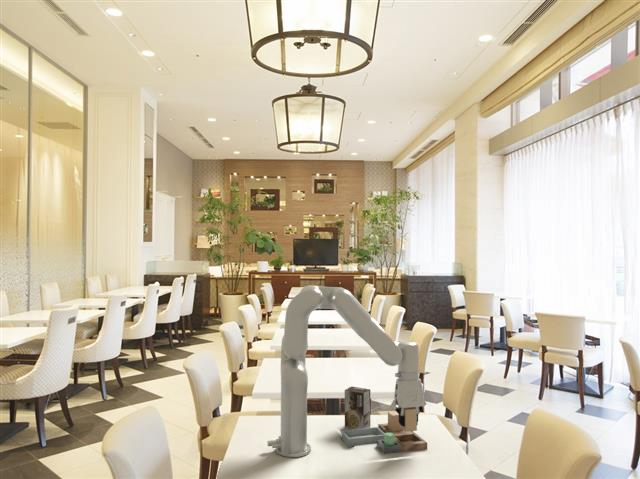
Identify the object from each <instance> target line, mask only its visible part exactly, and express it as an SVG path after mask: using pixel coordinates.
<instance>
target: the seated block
mask: <svg viewBox="0 0 640 479" xmlns="http://www.w3.org/2000/svg"><path fill="white" fill-rule="evenodd" d="M387 423H388V431H389V432H396V431H403V429H401V428H400V423H399V414H398V413H397V412H396V411H395V410H393V411H387Z"/></svg>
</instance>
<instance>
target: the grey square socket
mask: <svg viewBox="0 0 640 479" xmlns="http://www.w3.org/2000/svg"><path fill="white" fill-rule="evenodd" d="M376 447H377V448H378V449H379V451H381V453H382V454H384V455H386V454H394V453H403V452H402V445H401V444H400V443H399V442H398V441H397V440H395V445H390V446H386V445H385V444H384V439H383V440H377V442H376Z"/></svg>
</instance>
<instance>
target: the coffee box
mask: <svg viewBox="0 0 640 479" xmlns="http://www.w3.org/2000/svg"><path fill="white" fill-rule="evenodd" d="M344 428H346V429H348V430H352V429H362V428H371V389H370V388H363V387H357V386H349V387H347V388H346V389H344Z"/></svg>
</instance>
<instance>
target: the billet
mask: <svg viewBox="0 0 640 479" xmlns="http://www.w3.org/2000/svg"><path fill="white" fill-rule="evenodd" d="M404 416H405V426H404V427H403V426H402V425H400V428H401V429H403V430H404V431H405V432H409V431H413V432H416V431H418V425H417V409H416V408H415V407H413V408H405V410H404Z"/></svg>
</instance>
